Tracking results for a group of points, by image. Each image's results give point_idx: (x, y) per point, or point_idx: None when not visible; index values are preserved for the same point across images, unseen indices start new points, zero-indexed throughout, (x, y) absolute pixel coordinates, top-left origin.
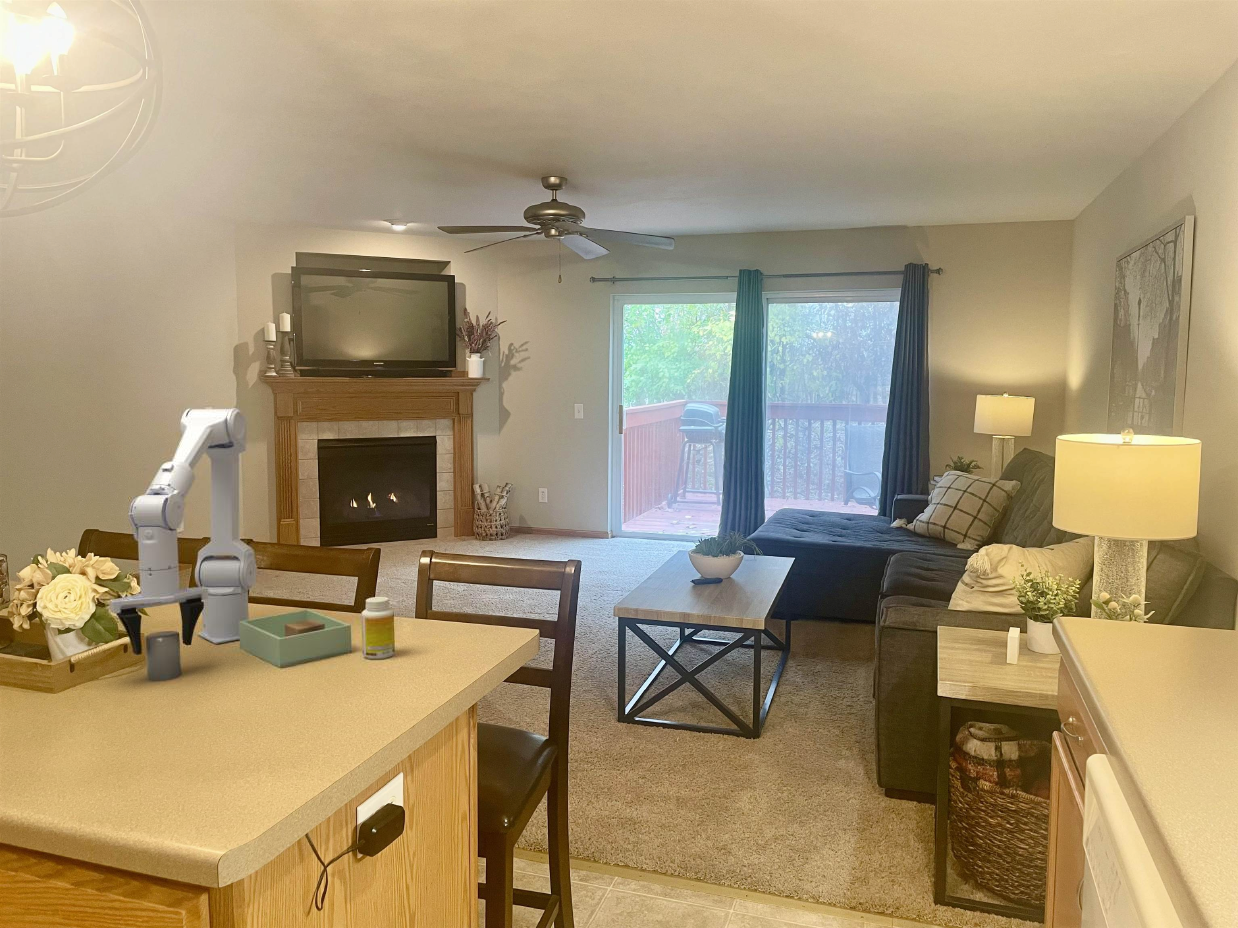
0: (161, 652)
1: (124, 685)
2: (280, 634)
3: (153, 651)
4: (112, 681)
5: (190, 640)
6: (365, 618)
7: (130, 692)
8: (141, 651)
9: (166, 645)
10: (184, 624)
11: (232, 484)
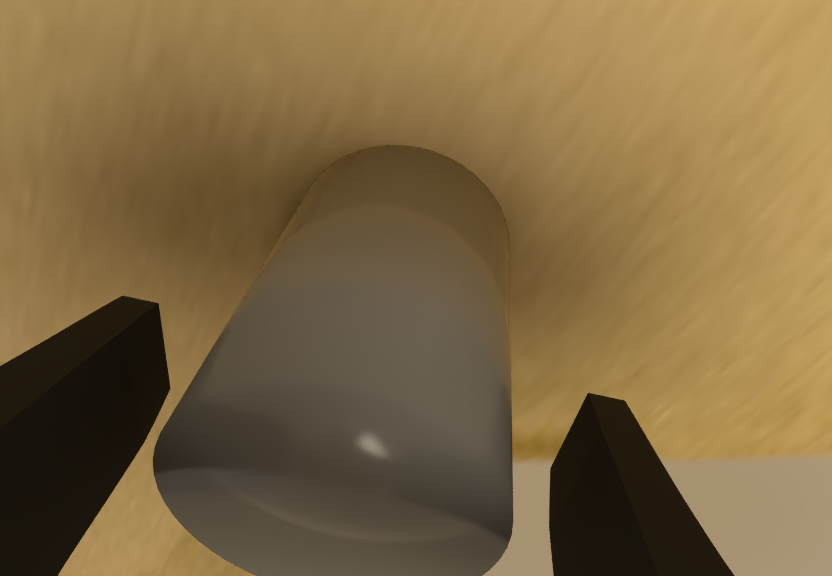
0: (443, 295)
1: (663, 283)
2: None
3: (497, 354)
4: (635, 396)
5: (97, 316)
6: None
7: (782, 97)
8: (599, 407)
9: (383, 319)
10: (33, 538)
11: None
